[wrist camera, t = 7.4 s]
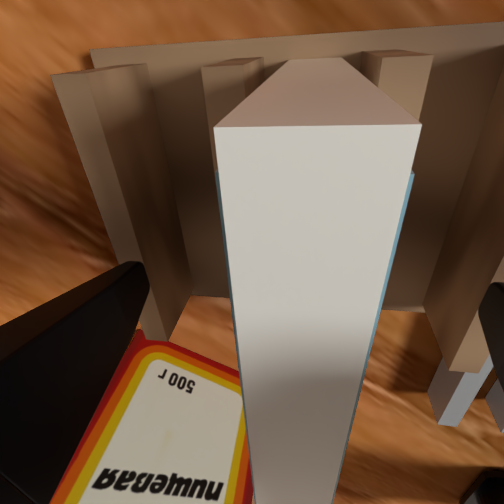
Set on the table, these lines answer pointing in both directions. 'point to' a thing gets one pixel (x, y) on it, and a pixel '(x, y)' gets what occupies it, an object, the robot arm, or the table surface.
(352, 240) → the white slim box
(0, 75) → the table surface
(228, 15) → the table surface
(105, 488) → the baking soda box
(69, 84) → the rack
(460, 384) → the stand
